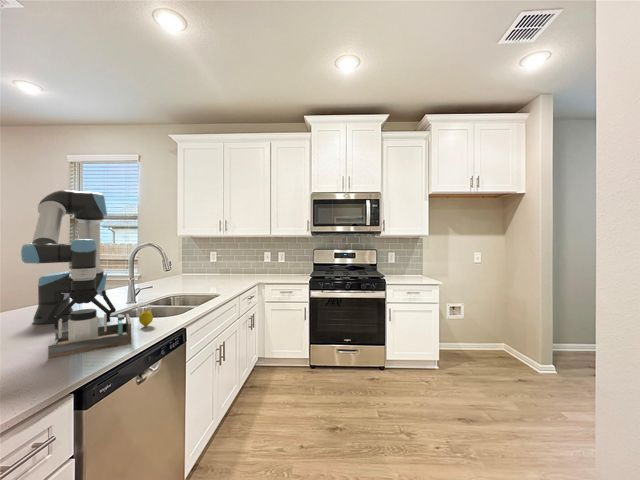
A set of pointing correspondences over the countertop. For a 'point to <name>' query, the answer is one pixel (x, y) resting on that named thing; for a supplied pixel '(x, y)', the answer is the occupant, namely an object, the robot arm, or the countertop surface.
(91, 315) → the jar
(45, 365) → the countertop surface
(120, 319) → the panel
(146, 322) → the fruit
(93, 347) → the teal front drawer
